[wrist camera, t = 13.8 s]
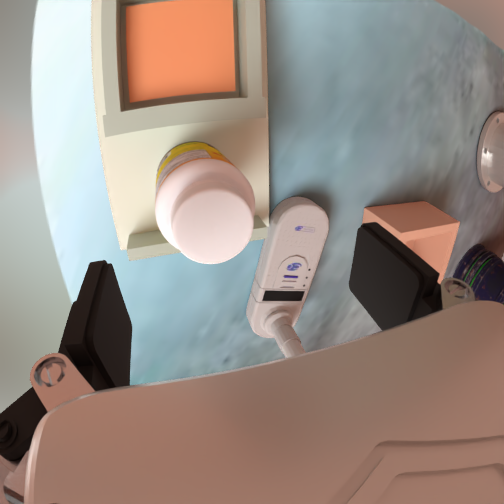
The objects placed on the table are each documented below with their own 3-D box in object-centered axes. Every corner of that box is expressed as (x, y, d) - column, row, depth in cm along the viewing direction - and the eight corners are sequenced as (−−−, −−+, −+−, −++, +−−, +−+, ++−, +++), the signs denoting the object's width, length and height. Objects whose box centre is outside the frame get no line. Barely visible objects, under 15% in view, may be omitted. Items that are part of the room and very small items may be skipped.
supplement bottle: (233, 196, 25) (277, 259, 16) (167, 216, 24) (176, 292, 15) (219, 130, 22) (260, 157, 13) (147, 151, 21) (138, 193, 12)
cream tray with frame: (261, -12, 17) (275, -24, 14) (266, 222, 28) (279, 239, 25) (93, 1, 14) (84, -11, 11) (121, 245, 25) (118, 265, 22)
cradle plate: (229, 2, 17) (232, -2, 16) (232, 91, 20) (235, 91, 20) (127, 10, 15) (126, 6, 14) (131, 102, 19) (129, 102, 18)
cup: (424, 201, 32) (459, 222, 27) (409, 267, 37) (437, 292, 32) (364, 207, 30) (400, 233, 25) (352, 282, 35) (380, 313, 30)
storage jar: (444, 298, 44) (499, 353, 32) (460, 250, 39) (527, 303, 27) (474, 284, 46) (525, 330, 34) (489, 239, 41) (549, 283, 29)
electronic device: (385, 243, 20) (319, 385, 27) (323, 199, 29) (283, 322, 35) (325, 235, 19) (267, 392, 25) (273, 190, 27) (240, 323, 33)
